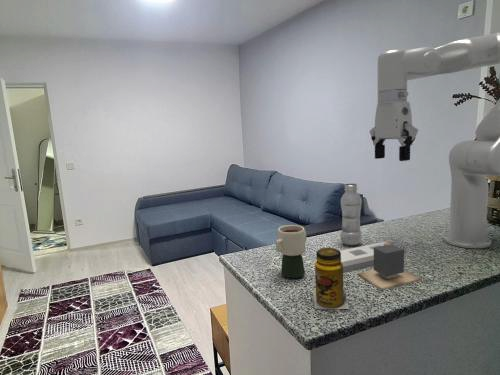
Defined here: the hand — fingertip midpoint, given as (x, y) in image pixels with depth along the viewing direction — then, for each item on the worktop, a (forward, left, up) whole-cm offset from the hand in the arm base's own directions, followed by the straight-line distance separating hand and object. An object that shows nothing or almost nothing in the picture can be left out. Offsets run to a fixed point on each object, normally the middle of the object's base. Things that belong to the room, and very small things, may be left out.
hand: (391, 159), depth 94 cm
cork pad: (+12, +13, -28) cm, 33 cm away
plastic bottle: (+6, -11, -28) cm, 31 cm away
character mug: (+33, +1, -28) cm, 43 cm away
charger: (+12, +13, -28) cm, 33 cm away
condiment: (+31, +16, -29) cm, 45 cm away
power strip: (+11, +2, -28) cm, 30 cm away
